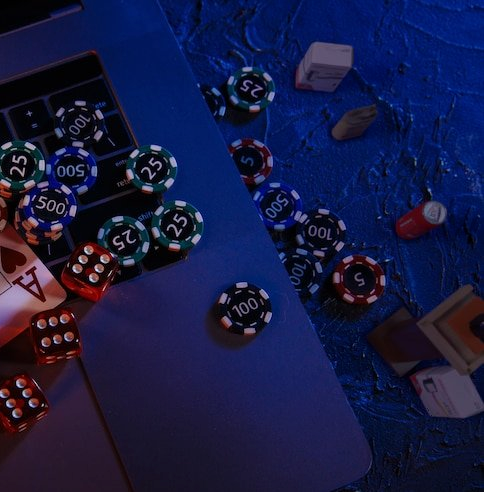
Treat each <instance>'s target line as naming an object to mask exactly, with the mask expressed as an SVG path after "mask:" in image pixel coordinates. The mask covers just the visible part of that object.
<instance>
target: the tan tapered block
mask: <svg viewBox="0 0 484 492" xmlns="http://www.w3.org/2000/svg"><path fill="white" fill-rule="evenodd" d="M376 107H377V104H376V103H372V105H366V106H362V107H357V108H353V109H349V110H347V112H345V113H344V114H343V116H342V117H341V118H340V119H339V121H338V122H337V123H336V125H334V126H333V128H332V130H331V136H332V137H333V138H334V139H336V140H337V141H343V140H348V139H351V138H355V137H359V136H361V135H362V134H363V133H364V132H365V131H366V130H367V128H369V127H370V125H371V124H372V123H373V122H375V120H376V118H377V117H378V114H379V110H378V109H377V108H376Z"/></svg>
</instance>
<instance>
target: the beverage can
mask: <svg viewBox="0 0 484 492" xmlns="http://www.w3.org/2000/svg"><path fill="white" fill-rule="evenodd" d="M445 206H446V205H444V204H443V203H442V202H440V201H438V200H427V201H424V202H423V203H421V204H419V205H417V206H416V207H414V208H413V209H411V210H410V211H408V212H407V213H405V214H403V215H401V217H399V218H398V219H397V221H396V223H395V233H396V234H397V236H398V237H400V238H401V239H404V240H407V241H408V240H409V241H411V240H416V239H417V238H419V237H421V236H423V235H425V234H427V233H429V232H430V231H432V230H434V229H436V228H438V227H440V226H441V225H443V224H445V221H446V219H447V217H448V211H447V208H446V207H445Z"/></svg>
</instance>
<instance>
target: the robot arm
mask: <svg viewBox="0 0 484 492" xmlns="http://www.w3.org/2000/svg"><path fill="white" fill-rule="evenodd" d="M469 328H470V331H471V332H472V333H473V334H474V335H475V337H477V338H479V339H480V340H481V341H482V342H483V343H484V321H483V322H478V323H473V324H471V325H470V326H469Z"/></svg>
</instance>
